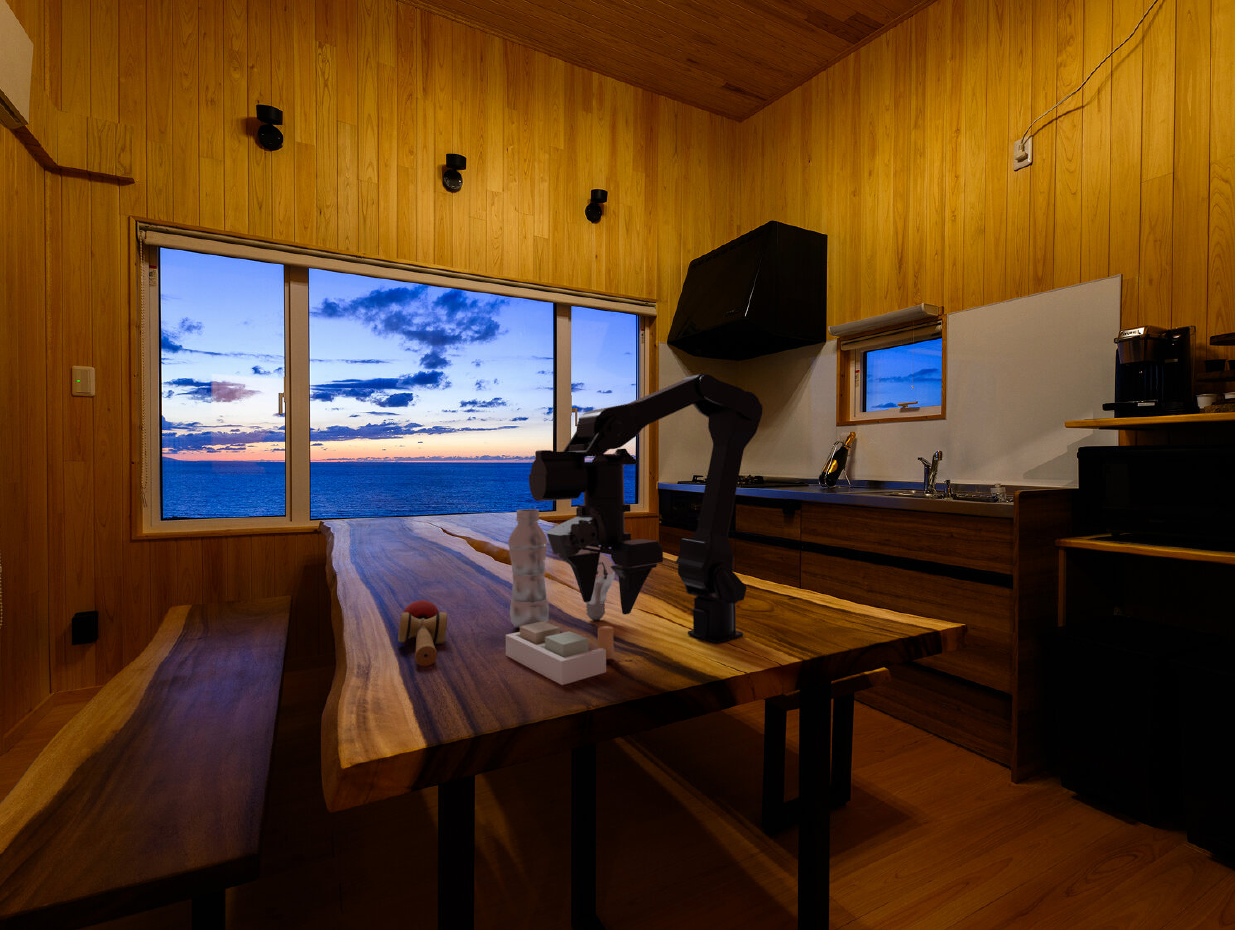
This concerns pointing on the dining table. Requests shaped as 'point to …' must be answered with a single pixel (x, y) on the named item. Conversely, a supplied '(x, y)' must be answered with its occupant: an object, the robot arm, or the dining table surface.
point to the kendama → (423, 629)
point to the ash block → (538, 632)
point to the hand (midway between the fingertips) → (605, 607)
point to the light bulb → (600, 589)
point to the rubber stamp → (579, 643)
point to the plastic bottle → (528, 570)
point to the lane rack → (555, 660)
